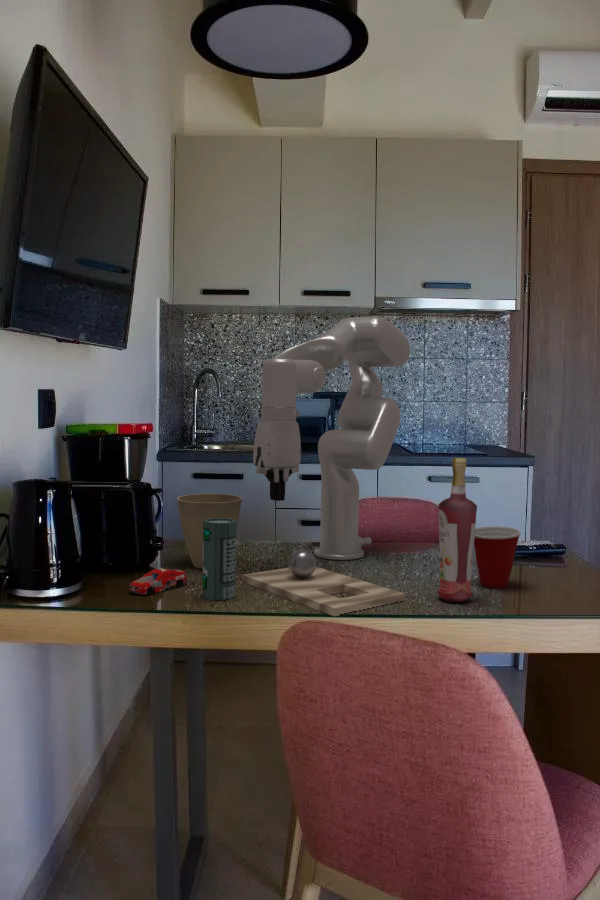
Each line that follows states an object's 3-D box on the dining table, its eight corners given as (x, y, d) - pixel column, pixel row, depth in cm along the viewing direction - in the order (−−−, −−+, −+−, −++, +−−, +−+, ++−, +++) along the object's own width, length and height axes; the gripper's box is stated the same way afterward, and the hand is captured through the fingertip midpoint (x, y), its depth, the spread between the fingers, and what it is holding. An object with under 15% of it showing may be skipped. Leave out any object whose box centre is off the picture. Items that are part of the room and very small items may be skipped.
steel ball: (304, 573, 156) (304, 545, 156) (321, 578, 152) (322, 550, 151) (281, 576, 153) (282, 548, 152) (299, 582, 148) (299, 553, 147)
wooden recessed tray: (242, 581, 154) (242, 574, 154) (308, 570, 165) (308, 564, 165) (334, 616, 130) (334, 608, 130) (404, 601, 141) (404, 593, 141)
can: (216, 590, 146) (216, 517, 145) (240, 595, 143) (241, 520, 142) (197, 597, 141) (197, 521, 140) (222, 602, 138) (223, 524, 137)
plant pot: (172, 560, 173) (172, 494, 172) (233, 557, 178) (233, 492, 177) (181, 574, 159) (182, 502, 158) (247, 571, 164) (248, 501, 162)
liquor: (480, 604, 140) (485, 459, 138) (444, 605, 138) (449, 459, 137) (463, 594, 147) (468, 456, 145) (430, 595, 146) (434, 456, 144)
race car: (141, 599, 140) (141, 579, 140) (123, 594, 144) (123, 574, 143) (191, 586, 151) (191, 567, 150) (174, 581, 154) (174, 563, 154)
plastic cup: (456, 581, 158) (458, 526, 157) (497, 577, 162) (499, 524, 161) (487, 593, 148) (489, 535, 147) (530, 589, 152) (532, 532, 151)
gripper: (295, 415, 164) (294, 496, 166) (240, 415, 155) (239, 500, 156) (316, 416, 158) (314, 499, 160) (260, 416, 149) (258, 504, 150)
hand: (277, 499), depth 158 cm, fingers closed
